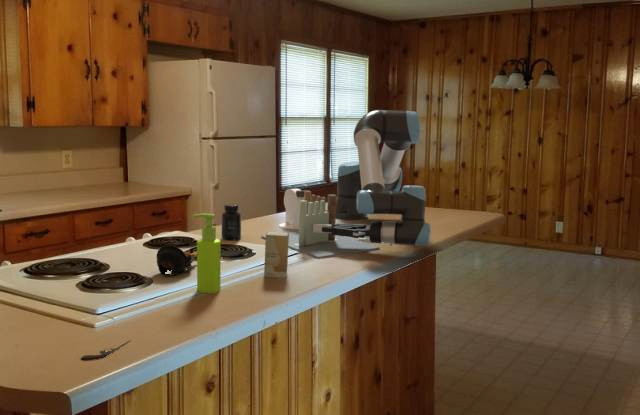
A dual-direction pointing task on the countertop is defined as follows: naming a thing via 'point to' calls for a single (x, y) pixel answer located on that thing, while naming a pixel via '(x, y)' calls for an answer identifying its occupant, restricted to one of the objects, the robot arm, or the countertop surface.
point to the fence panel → (312, 222)
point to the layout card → (329, 246)
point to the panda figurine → (292, 207)
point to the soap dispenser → (208, 257)
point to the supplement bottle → (231, 222)
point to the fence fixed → (330, 209)
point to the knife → (91, 357)
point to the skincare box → (276, 254)
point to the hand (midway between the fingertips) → (313, 227)
